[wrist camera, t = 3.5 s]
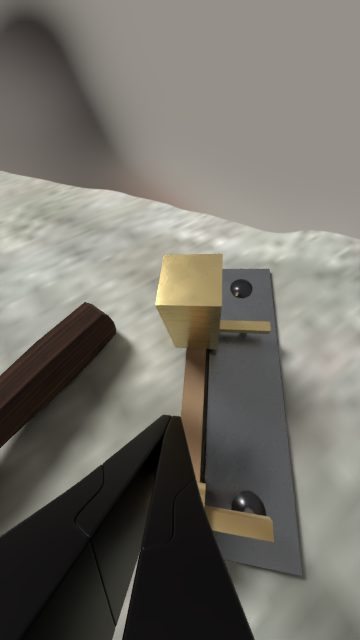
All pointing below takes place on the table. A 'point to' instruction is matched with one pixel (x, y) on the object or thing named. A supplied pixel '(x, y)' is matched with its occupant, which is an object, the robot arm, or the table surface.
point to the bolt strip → (250, 428)
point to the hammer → (51, 366)
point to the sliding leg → (197, 302)
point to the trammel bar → (193, 426)
